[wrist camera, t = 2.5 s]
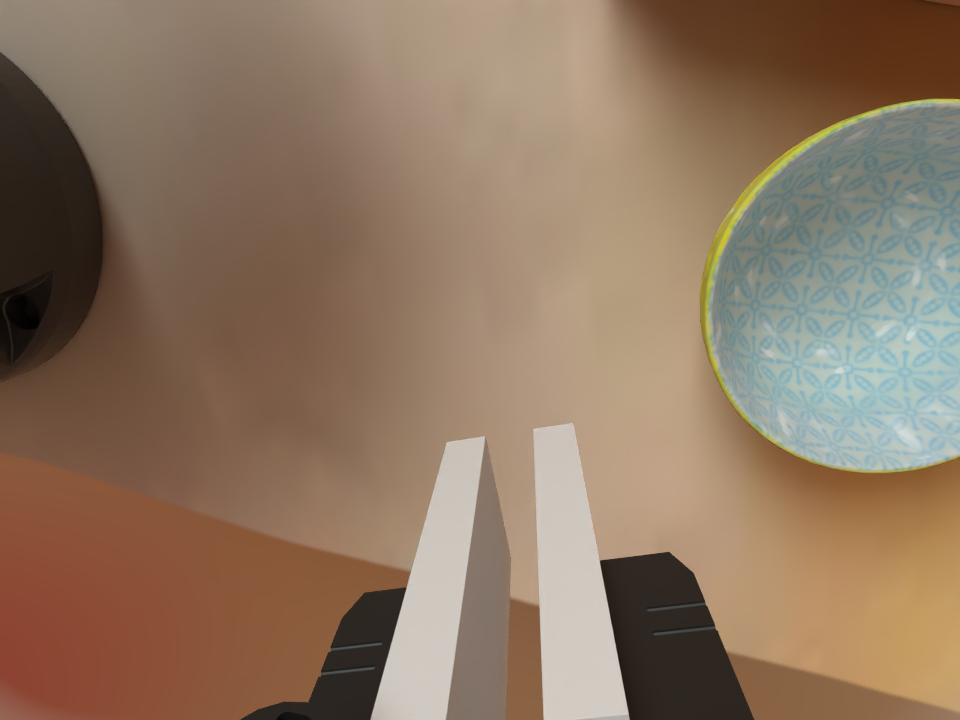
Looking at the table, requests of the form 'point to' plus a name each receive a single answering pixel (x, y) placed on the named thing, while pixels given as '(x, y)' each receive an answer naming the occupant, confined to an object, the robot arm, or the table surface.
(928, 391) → the bowl
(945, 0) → the door
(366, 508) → the table surface
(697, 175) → the table surface
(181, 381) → the table surface
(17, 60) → the table surface
